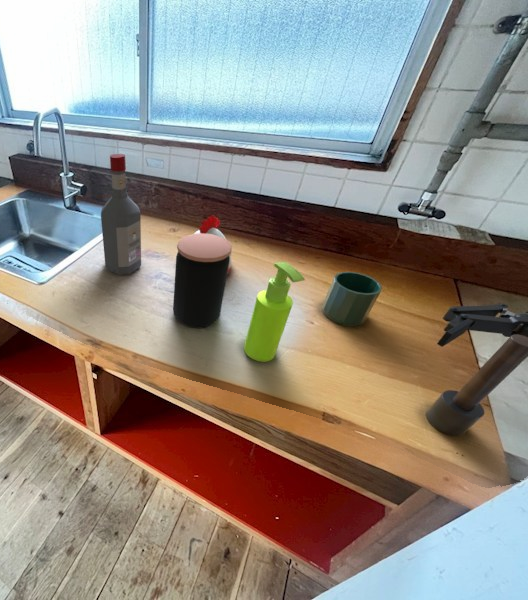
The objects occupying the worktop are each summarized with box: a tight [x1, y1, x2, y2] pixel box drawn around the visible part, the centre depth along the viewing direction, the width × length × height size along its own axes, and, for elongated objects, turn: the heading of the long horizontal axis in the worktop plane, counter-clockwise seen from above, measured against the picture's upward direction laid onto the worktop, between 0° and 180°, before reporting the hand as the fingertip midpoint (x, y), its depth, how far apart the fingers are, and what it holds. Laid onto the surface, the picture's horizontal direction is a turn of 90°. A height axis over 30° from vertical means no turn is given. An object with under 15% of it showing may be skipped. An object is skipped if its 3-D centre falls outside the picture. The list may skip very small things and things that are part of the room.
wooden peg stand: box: [425, 335, 528, 437], centre depth 46 cm, size 5×5×18 cm
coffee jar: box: [172, 233, 233, 329], centre depth 69 cm, size 11×11×18 cm
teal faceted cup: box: [321, 271, 383, 327], centre depth 70 cm, size 9×9×8 cm
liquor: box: [100, 153, 142, 276], centre depth 84 cm, size 9×9×30 cm
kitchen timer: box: [193, 214, 232, 275], centre depth 86 cm, size 14×14×15 cm
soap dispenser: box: [243, 261, 306, 363], centre depth 58 cm, size 6×7×20 cm
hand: (499, 368), depth 46 cm, fingers open, 13 cm apart
